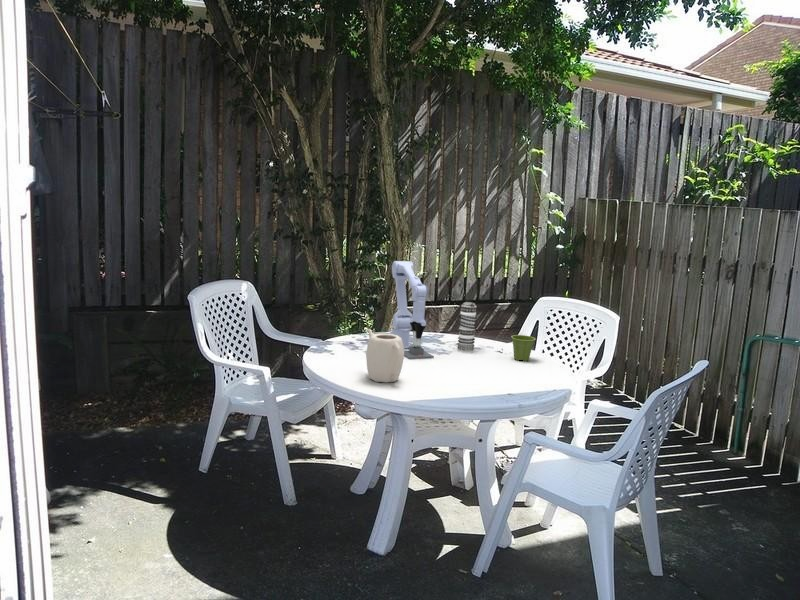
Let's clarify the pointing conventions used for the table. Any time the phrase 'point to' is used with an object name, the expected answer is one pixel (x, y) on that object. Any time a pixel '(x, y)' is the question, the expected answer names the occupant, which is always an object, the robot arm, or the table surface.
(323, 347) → the table surface
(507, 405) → the table surface
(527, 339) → the plant pot
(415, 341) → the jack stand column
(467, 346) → the decorative candle
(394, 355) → the cream ceramic pot
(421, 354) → the grey socket base
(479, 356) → the table surface
